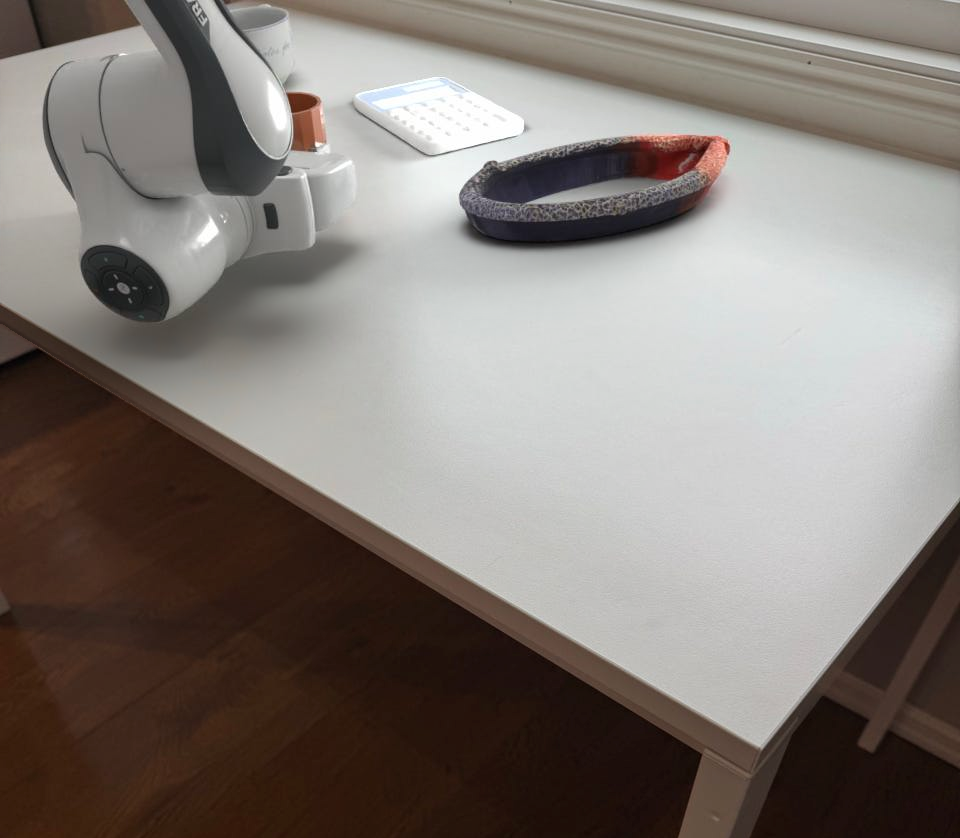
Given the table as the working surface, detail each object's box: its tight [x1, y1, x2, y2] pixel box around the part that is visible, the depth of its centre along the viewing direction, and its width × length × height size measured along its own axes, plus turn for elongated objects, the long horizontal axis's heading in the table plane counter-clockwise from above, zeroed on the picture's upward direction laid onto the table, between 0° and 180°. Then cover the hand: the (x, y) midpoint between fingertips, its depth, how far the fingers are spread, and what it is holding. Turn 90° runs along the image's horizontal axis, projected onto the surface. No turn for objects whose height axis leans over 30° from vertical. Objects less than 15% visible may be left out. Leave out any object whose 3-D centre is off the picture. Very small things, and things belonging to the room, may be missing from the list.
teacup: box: [228, 3, 296, 85], centre depth 126 cm, size 14×11×8 cm
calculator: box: [353, 76, 525, 156], centre depth 117 cm, size 13×20×2 cm, turn 31°
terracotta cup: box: [285, 91, 328, 152], centre depth 97 cm, size 7×7×10 cm
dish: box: [458, 133, 731, 243], centre depth 97 cm, size 16×31×5 cm, turn 115°
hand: (277, 147), depth 94 cm, fingers open, 8 cm apart
